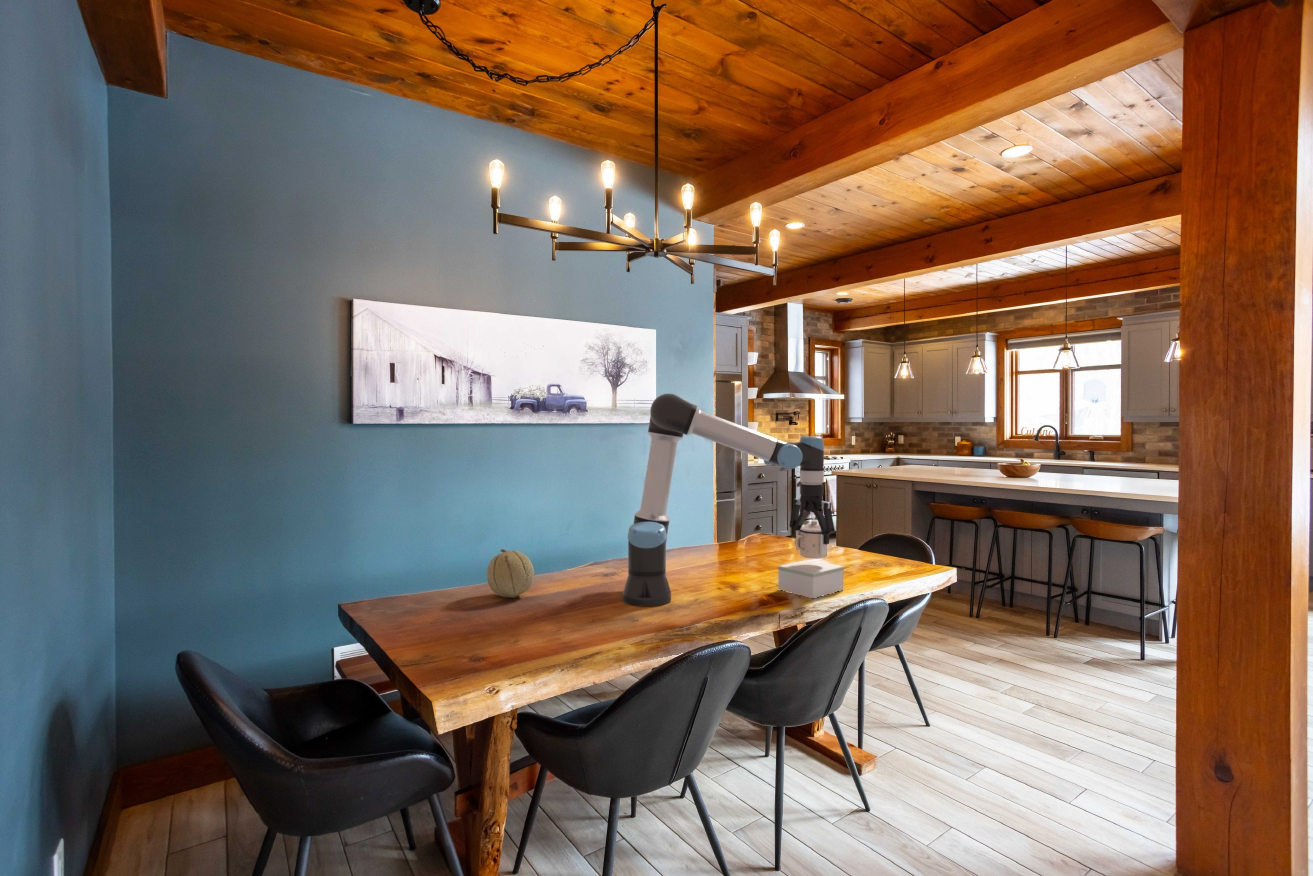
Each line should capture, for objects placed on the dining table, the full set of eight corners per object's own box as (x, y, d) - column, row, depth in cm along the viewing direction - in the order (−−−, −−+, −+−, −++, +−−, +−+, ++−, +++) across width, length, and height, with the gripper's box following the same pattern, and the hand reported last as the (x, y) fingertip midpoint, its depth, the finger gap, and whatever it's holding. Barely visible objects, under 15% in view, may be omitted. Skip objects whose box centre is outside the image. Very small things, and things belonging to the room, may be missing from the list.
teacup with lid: (816, 552, 224) (816, 518, 224) (833, 557, 216) (834, 522, 216) (786, 555, 219) (787, 520, 219) (803, 560, 211) (804, 524, 211)
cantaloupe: (529, 603, 202) (529, 554, 201) (481, 603, 202) (481, 554, 201) (538, 590, 217) (538, 545, 216) (493, 590, 216) (492, 544, 216)
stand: (777, 590, 218) (778, 565, 218) (808, 582, 228) (808, 559, 228) (813, 599, 207) (813, 573, 207) (843, 590, 217) (844, 566, 217)
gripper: (847, 485, 211) (846, 555, 211) (792, 480, 227) (792, 545, 228) (832, 486, 206) (832, 558, 207) (778, 481, 223) (778, 548, 223)
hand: (811, 551), depth 217 cm, fingers closed on teacup with lid, 9 cm apart
